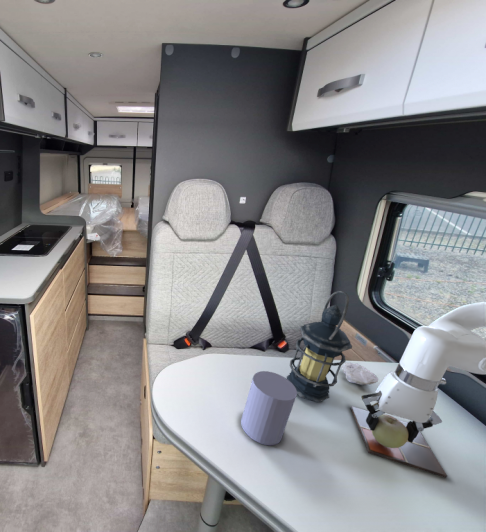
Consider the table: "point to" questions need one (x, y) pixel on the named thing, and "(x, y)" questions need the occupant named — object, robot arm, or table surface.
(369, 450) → the board
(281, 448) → the table surface
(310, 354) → the lantern
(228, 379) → the table surface
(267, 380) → the container
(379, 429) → the fruit
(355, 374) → the fossil
